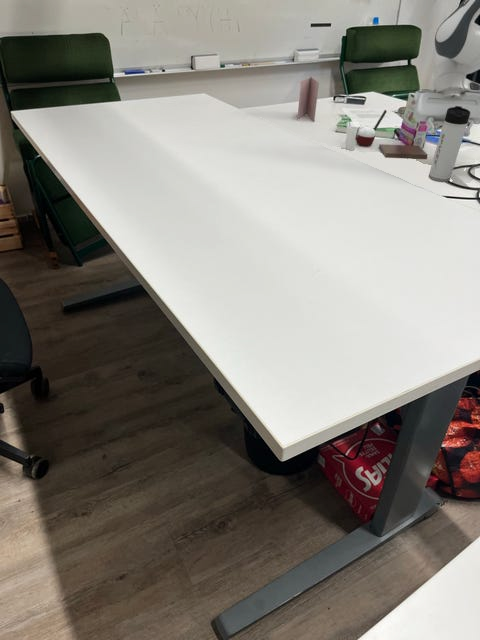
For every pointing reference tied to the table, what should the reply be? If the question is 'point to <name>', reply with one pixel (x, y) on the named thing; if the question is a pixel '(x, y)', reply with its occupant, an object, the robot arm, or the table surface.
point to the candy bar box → (412, 126)
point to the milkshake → (352, 135)
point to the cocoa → (368, 133)
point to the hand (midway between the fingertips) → (449, 134)
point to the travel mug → (449, 144)
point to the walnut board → (402, 151)
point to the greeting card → (308, 98)
